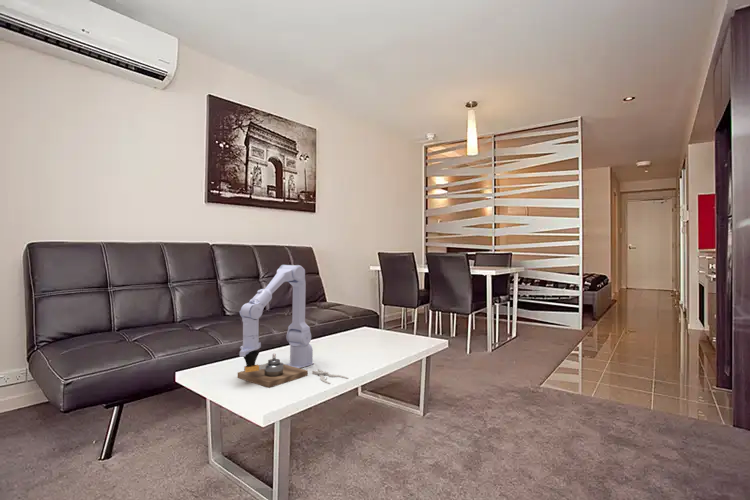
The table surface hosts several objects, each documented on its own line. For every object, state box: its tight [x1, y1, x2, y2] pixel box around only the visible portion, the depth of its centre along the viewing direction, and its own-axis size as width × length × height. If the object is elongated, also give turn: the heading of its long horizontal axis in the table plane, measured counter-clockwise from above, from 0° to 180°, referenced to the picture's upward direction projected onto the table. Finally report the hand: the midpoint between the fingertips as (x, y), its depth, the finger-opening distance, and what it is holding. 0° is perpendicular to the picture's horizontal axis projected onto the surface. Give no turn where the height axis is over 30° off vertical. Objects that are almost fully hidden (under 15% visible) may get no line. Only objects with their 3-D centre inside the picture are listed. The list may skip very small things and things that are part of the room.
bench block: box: [237, 363, 309, 389], centre depth 160 cm, size 19×19×2 cm
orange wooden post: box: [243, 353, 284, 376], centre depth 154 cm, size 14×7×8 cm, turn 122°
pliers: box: [311, 369, 349, 385], centre depth 160 cm, size 10×2×15 cm
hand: (250, 370), depth 154 cm, fingers closed
